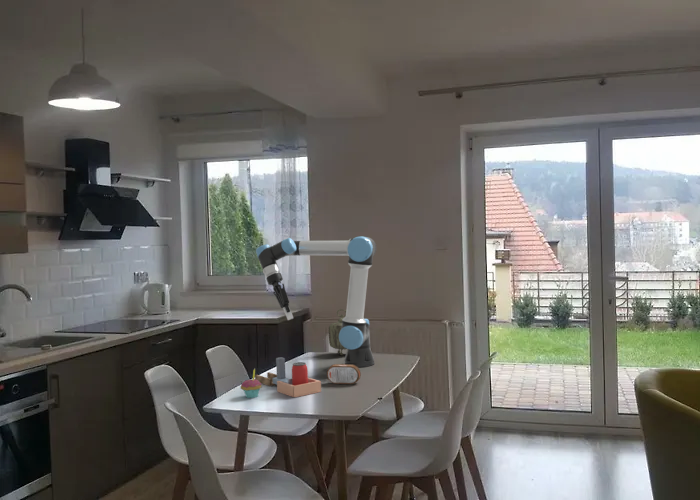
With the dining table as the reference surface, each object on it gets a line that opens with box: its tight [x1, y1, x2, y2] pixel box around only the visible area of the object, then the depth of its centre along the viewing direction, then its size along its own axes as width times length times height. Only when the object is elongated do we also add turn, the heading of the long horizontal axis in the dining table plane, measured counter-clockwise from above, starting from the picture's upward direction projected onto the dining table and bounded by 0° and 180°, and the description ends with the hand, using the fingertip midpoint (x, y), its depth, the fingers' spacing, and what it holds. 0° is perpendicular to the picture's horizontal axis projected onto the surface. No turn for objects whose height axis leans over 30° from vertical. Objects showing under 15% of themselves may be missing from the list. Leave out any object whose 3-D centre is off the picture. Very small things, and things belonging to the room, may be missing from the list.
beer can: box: [291, 361, 309, 386], centre depth 267 cm, size 7×7×12 cm
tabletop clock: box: [328, 308, 347, 356], centre depth 349 cm, size 14×9×25 cm, turn 52°
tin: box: [326, 363, 362, 385], centre depth 279 cm, size 15×3×8 cm, turn 74°
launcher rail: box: [254, 372, 277, 387], centre depth 288 cm, size 14×7×3 cm, turn 36°
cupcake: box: [240, 367, 263, 399], centre depth 263 cm, size 9×8×12 cm
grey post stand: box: [272, 357, 292, 386], centre depth 276 cm, size 16×6×12 cm, turn 36°
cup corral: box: [276, 377, 322, 398], centre depth 268 cm, size 14×13×4 cm
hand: (290, 319), depth 308 cm, fingers closed
